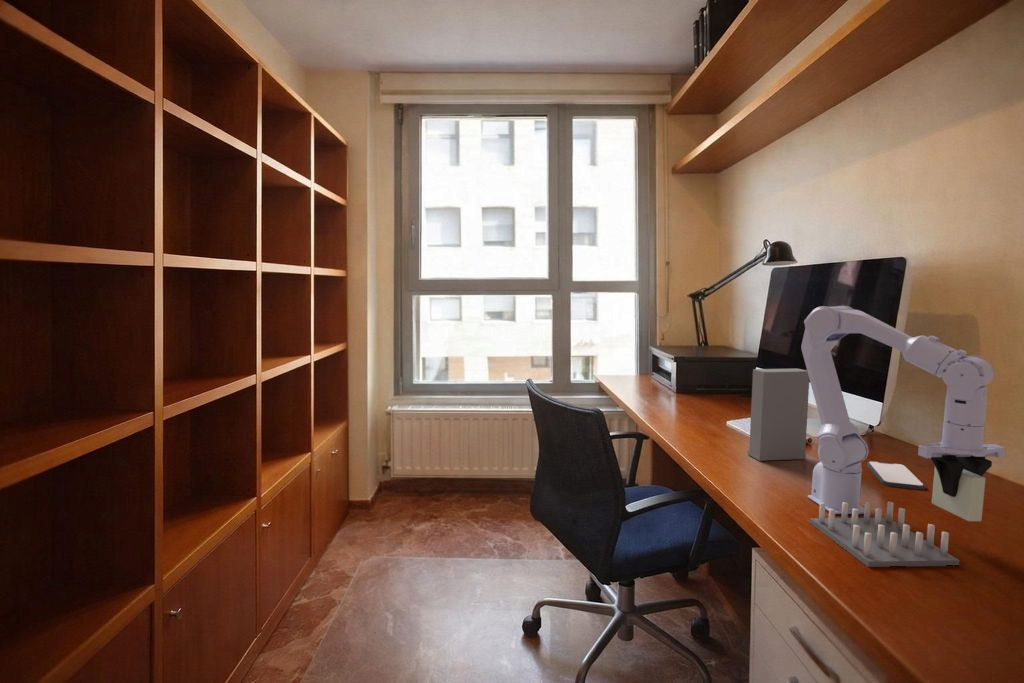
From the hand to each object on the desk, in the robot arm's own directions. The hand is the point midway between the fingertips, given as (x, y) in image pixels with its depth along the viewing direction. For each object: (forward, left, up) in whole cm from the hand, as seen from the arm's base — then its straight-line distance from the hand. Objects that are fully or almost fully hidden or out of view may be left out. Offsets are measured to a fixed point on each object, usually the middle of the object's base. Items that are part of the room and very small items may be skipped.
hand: (957, 494), depth 97 cm
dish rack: (-1, -13, -10) cm, 17 cm away
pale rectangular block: (0, 0, -3) cm, 3 cm away
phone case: (-35, +16, -10) cm, 39 cm away
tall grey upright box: (-51, -6, -10) cm, 52 cm away
